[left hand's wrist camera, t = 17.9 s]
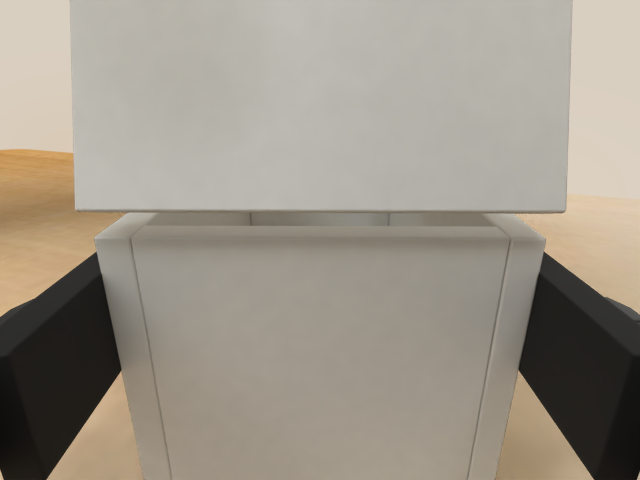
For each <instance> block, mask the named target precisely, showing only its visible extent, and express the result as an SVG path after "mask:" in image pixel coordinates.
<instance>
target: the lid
mask: <svg viewBox="0 0 640 480" xmlns="http://www.w3.org/2000/svg"><path fill="white" fill-rule="evenodd" d="M572 2H573V0H70V32H71V72H72V111H73V151H74V191H75V210H76V211H78V212H98V213H443V214H549V213H564V212H565V211H566V199H567V166H568V133H569V100H570V67H571V34H572Z"/></svg>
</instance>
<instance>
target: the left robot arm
mask: <svg viewBox="0 0 640 480" xmlns="http://www.w3.org/2000/svg"><path fill="white" fill-rule="evenodd" d="M121 370H122V369H121V364H120V359H119V355H118V350H117V345H116V340H115V336H114V331H113V326H112V321H111V316H110V312H109V307H108V302H107V297H106V292H105V288H104V283H103V278H102V273H101V270H100V265H99V260H98V255H97V252H96V253H94V254H93V255H92V256H90V257H89V258H88V259H86V260H85V261H84V262H82V263H81V264H80V265H78V266H77V267H76V268H74V269H73V270H72V271H70V272H69V273H68V274H67V275H65V276H64V277H63V278H61V279H60V280H59V281H57V282H56V283H55V284H53V285H52V286H51V287H49V288H48V289H47V290H45V291H44V292H43V293H41V294H40V295H39V296H38V297H36V298H35V299H32V300H30V301H28V302H26V303H24V304H22V305H19V306H17V307H15V308H13V309H11V310H9V311H8V312H7V313H5V314H4V315H3V316H1V317H0V470H1V473H2V476H3V479H4V480H46V479H47V478H48V476H49V475H50V474H51V472H52V471H53V469H54V468H55V466H56V465H57V463H58V462H59V460H60V459H61V458H62V456H63V455H64V453H65V452H66V450H67V449H68V447H69V446H70V444H71V443H72V442H73V440H74V439H75V437H76V436H77V434H78V433H79V431H80V430H81V428H82V427H83V426H84V424H85V423H86V421H87V420H88V418H89V417H90V415H91V414H92V412H93V411H94V410H95V408H96V407H97V405H98V404H99V402H100V401H101V399H102V398H103V397H104V395H105V394H106V392H107V391H108V389H109V388H110V386H111V385H112V383H113V382H114V381H115V379H116V378H117V376H118V375H119V373H120V372H121ZM519 371H520V373H521V374H522V375H523V377H524V378H525V380H526V381H527V383H528V384H529V386H530V387H531V389H532V390H533V391H534V393H535V394H536V396H537V397H538V399H539V400H540V402H541V403H542V405H543V406H544V407H545V409H546V410H547V412H548V413H549V415H550V416H551V418H552V419H553V420H554V422H555V423H556V425H557V426H558V428H559V429H560V431H561V432H562V434H563V435H564V436H565V438H566V439H567V441H568V442H569V444H570V445H571V447H572V448H573V450H574V451H575V452H576V454H577V455H578V457H579V458H580V460H581V461H582V463H583V464H584V466H585V467H586V468H587V470H588V471H589V473H590V474H591V476H592V477H593V479H594V480H637V478H638V475H639V472H640V315H639V314H638V313H637V312H635V311H634V310H632V309H631V308H629V307H627V306H625V305H623V304H621V303H618V302H616V301H614V300H612V299H610V298H608V297H603V296H602V295H600V294H599V293H598V292H596V291H595V290H594V289H592V288H591V287H590V286H589V285H587V284H586V283H585V282H583V281H582V280H581V279H579V278H578V277H577V276H575V275H574V274H573V273H571V272H570V271H569V270H567V269H566V268H565V267H563V266H562V265H561V264H560V263H558V262H557V261H556V260H554V259H553V258H552V257H550V256H549V255H548V254H546V253H545V252H544V253H543V258H542V262H541V267H540V272H539V275H538V280H537V285H536V290H535V294H534V299H533V304H532V309H531V313H530V318H529V323H528V328H527V332H526V337H525V342H524V347H523V351H522V356H521V361H520V365H519Z"/></svg>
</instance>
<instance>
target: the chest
mask: <svg viewBox="0 0 640 480" xmlns="http://www.w3.org/2000/svg"><path fill="white" fill-rule="evenodd" d="M94 241H95V245H96V250H97V255H98V260H99V265H100V270H101V273H102V278H103V283H104V288H105V292H106V297H107V302H108V307H109V312H110V316H111V321H112V326H113V331H114V336H115V340H116V345H117V350H118V355H119V359H120V364H121V369H122V370H121V371H122V376H123V381H124V386H125V390H126V395H127V400H128V405H129V410H130V415H131V419H132V424H133V429H134V434H135V439H136V444H137V448H138V453H139V458H140V463H141V468H142V473H143V477H144V480H495V478H496V473H497V469H498V464H499V459H500V455H501V450H502V445H503V440H504V436H505V431H506V426H507V422H508V417H509V412H510V408H511V403H512V398H513V394H514V389H515V384H516V380H517V375H518V370H519V365H520V361H521V356H522V351H523V347H524V342H525V337H526V332H527V328H528V323H529V318H530V313H531V309H532V304H533V299H534V294H535V290H536V285H537V280H538V275H539V272H540V267H541V262H542V258H543V253H544V248H545V244H546V239H545V237H543V236H542V235H541V234H539V233H538V232H537V231H535V230H534V229H533V228H531V227H530V226H528V225H527V224H526V223H524V222H523V221H522V220H520V219H519V218H518V217H516V216H515V215H514V214H443V213H127V214H125V215H124V216H123V217H121V218H120V219H118V220H117V221H116V222H114V223H113V224H112V225H110V226H109V227H107V228H106V229H105V230H103V231H102V232H101V233H99V234H98V235H97V236H95V238H94Z"/></svg>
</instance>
